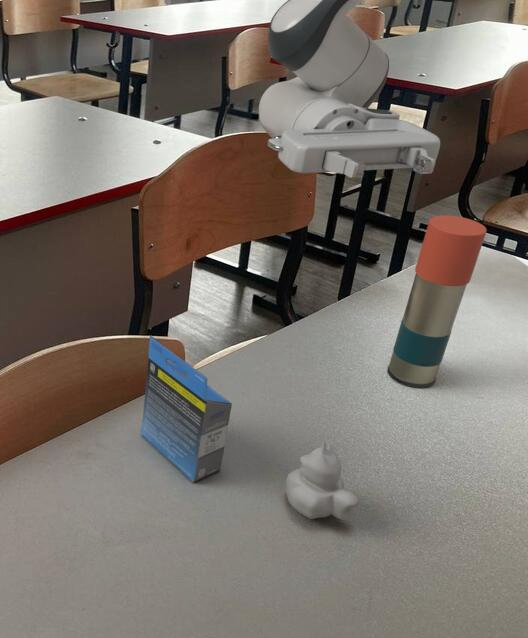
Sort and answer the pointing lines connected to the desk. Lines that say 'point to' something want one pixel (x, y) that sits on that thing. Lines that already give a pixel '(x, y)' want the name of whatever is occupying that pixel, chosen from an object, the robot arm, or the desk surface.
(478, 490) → the desk surface
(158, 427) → the tape cartridge
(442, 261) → the cap
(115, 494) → the desk surface
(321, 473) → the grey animal figurine
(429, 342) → the spray can
